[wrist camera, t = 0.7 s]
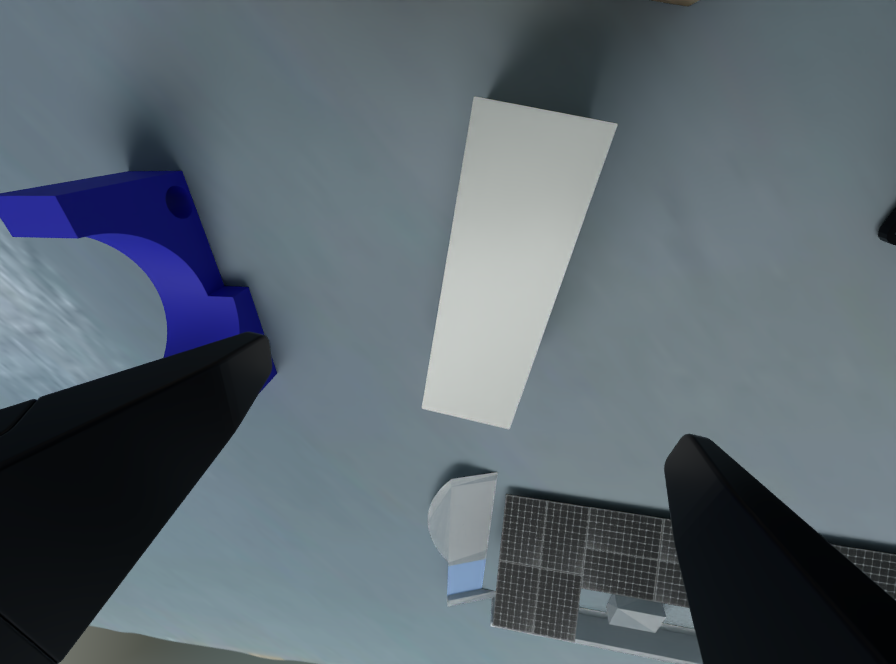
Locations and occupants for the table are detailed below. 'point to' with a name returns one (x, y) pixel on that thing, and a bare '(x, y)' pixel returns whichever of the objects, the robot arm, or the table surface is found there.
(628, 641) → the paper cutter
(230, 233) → the table surface
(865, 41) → the table surface
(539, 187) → the white rectangular block
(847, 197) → the table surface
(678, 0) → the wooden grooved board
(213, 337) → the cable clip
